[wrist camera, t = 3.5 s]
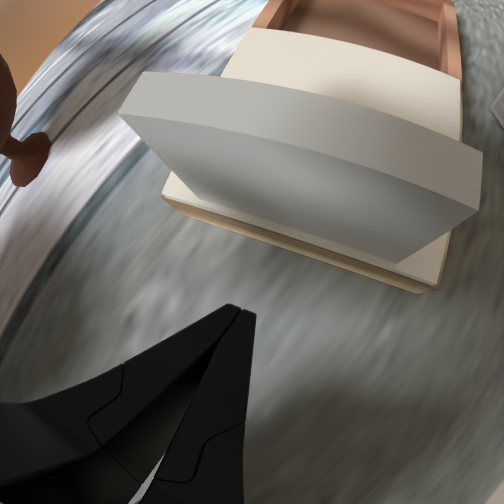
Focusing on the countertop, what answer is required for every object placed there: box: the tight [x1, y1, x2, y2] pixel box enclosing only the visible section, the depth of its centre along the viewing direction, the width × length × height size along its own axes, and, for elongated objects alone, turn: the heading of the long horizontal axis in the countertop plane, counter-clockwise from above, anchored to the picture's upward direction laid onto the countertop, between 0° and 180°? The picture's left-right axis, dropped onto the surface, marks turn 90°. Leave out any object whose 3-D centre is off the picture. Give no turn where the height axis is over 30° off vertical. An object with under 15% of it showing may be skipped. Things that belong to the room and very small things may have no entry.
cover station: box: [161, 0, 463, 294], centre depth 17 cm, size 24×14×3 cm, turn 159°
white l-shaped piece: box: [118, 27, 483, 286], centre depth 11 cm, size 12×13×8 cm
